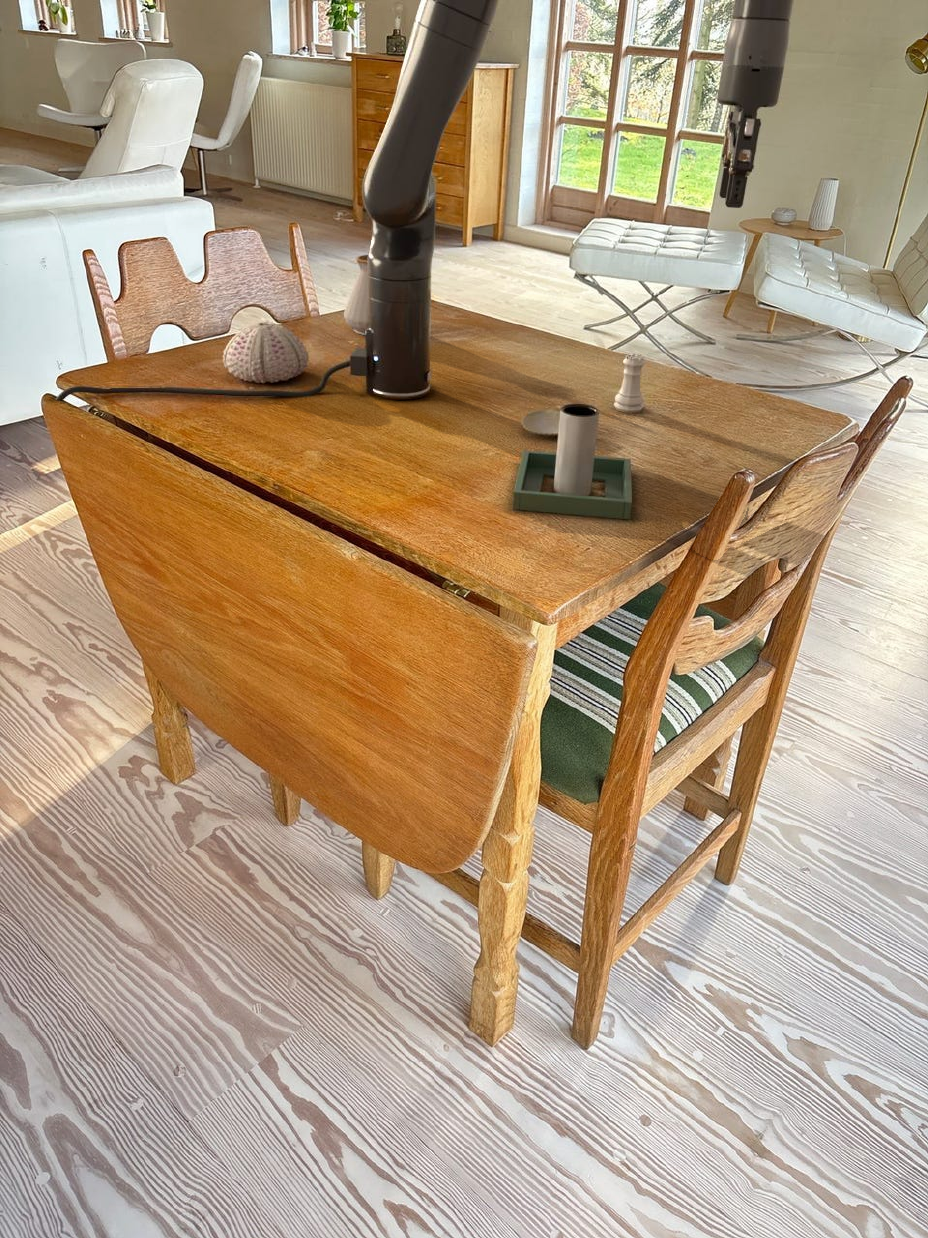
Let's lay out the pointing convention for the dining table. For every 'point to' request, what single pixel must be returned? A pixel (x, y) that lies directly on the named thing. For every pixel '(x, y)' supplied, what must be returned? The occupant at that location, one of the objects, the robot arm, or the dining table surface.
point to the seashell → (542, 422)
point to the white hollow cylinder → (576, 449)
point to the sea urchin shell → (265, 354)
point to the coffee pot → (359, 300)
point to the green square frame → (611, 506)
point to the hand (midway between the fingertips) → (730, 202)
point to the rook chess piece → (630, 386)
